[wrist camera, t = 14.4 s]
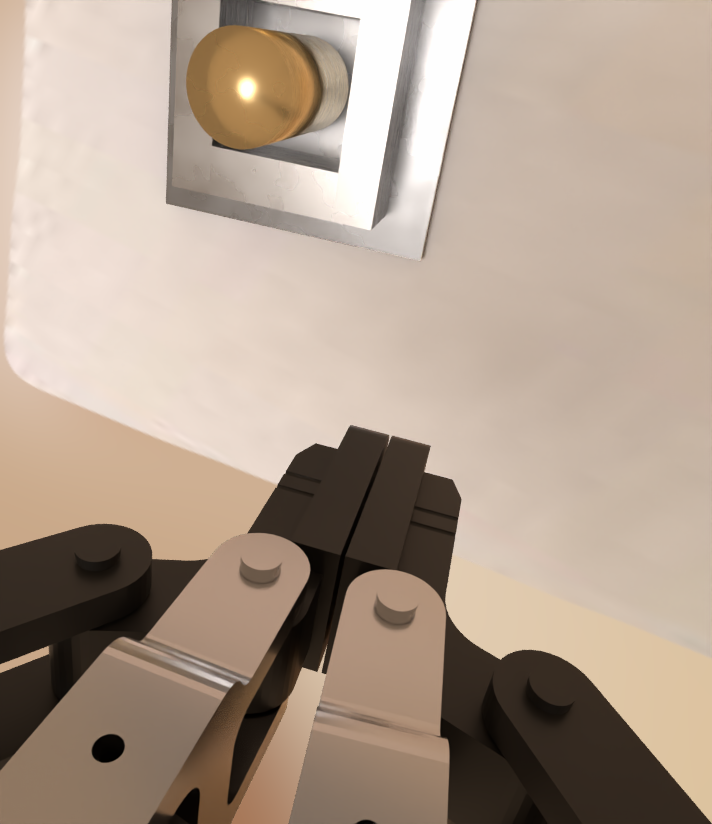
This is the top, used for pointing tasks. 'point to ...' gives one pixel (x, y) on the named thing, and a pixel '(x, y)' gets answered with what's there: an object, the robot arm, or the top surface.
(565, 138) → the top surface
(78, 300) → the top surface
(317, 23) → the jig
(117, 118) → the top surface
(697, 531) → the top surface
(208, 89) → the gold and grey cylinder
